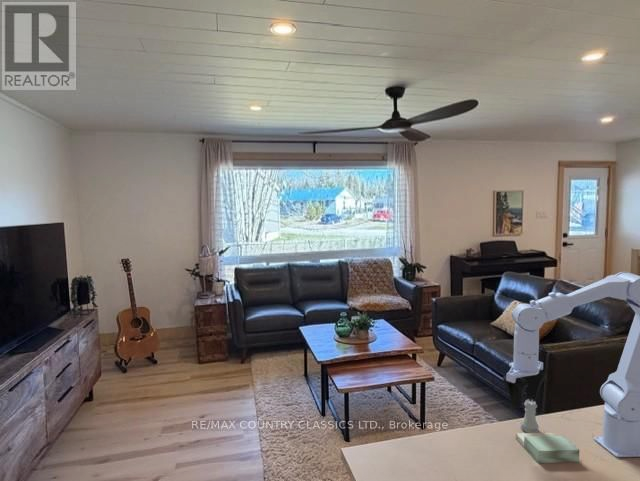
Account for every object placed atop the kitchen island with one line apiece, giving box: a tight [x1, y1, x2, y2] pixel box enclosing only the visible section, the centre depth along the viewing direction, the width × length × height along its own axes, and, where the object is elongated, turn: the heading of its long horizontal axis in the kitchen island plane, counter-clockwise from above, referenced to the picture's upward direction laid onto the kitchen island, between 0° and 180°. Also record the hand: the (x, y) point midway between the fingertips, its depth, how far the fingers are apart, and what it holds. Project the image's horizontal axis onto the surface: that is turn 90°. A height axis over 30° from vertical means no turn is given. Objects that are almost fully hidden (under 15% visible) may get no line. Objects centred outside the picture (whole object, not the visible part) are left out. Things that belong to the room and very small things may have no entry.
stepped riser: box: [515, 432, 581, 464], centre depth 100 cm, size 10×10×3 cm
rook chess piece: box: [520, 399, 540, 433], centre depth 109 cm, size 4×4×8 cm
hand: (524, 401), depth 105 cm, fingers open, 7 cm apart
